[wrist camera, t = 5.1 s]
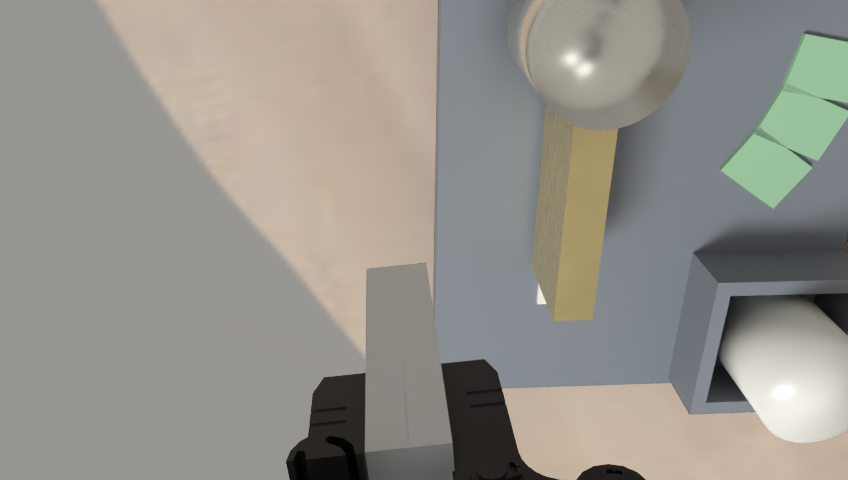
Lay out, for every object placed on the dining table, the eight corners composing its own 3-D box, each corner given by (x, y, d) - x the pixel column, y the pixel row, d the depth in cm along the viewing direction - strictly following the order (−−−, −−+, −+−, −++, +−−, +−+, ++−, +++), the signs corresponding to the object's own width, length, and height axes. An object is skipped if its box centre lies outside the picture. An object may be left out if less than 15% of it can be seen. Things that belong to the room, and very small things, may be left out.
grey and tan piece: (509, -50, 24) (538, -32, 20) (645, -49, 24) (704, -32, 20) (491, 264, 29) (511, 332, 25) (603, 262, 30) (642, 328, 25)
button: (721, 284, 30) (776, 349, 26) (826, 281, 30) (895, 345, 26) (702, 371, 32) (749, 444, 28) (799, 368, 32) (861, 440, 28)
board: (442, -251, 23) (453, -271, 19) (964, -241, 24) (1060, -259, 20) (432, 373, 33) (438, 429, 30) (790, 362, 34) (834, 414, 31)
